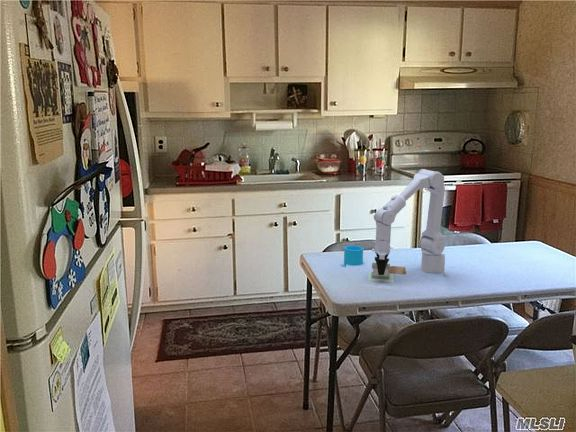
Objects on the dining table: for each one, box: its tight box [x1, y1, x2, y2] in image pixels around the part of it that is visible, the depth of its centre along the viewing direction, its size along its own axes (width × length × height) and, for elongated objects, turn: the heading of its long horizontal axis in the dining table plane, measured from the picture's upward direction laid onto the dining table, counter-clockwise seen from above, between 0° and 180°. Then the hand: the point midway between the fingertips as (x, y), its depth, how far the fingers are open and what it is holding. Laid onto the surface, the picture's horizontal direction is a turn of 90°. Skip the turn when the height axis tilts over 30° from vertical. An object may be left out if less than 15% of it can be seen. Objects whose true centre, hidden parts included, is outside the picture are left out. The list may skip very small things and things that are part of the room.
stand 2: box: [388, 265, 407, 275], centre depth 217 cm, size 10×10×2 cm
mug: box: [343, 245, 364, 268], centre depth 228 cm, size 12×8×8 cm
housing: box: [371, 262, 391, 279], centre depth 207 cm, size 7×4×5 cm, turn 79°
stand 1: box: [367, 272, 395, 287], centre depth 208 cm, size 10×10×2 cm
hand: (381, 271), depth 207 cm, fingers open, 7 cm apart
